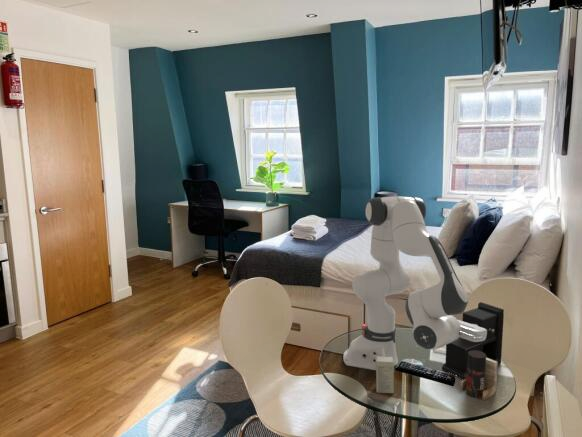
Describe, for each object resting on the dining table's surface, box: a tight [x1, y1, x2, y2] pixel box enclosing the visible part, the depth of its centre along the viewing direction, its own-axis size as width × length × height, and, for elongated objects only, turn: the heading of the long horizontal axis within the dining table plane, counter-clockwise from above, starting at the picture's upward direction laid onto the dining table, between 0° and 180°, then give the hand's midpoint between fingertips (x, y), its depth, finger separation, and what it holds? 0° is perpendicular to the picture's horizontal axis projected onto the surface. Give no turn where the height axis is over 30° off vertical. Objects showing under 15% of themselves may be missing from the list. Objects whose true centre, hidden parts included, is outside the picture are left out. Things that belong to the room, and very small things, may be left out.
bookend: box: [441, 301, 505, 381], centre depth 175 cm, size 23×11×24 cm, turn 122°
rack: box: [460, 357, 498, 401], centre depth 159 cm, size 8×9×12 cm
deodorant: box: [465, 350, 486, 399], centre depth 157 cm, size 6×6×15 cm
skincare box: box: [375, 356, 395, 394], centre depth 160 cm, size 6×4×12 cm
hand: (461, 322), depth 151 cm, fingers open, 8 cm apart
